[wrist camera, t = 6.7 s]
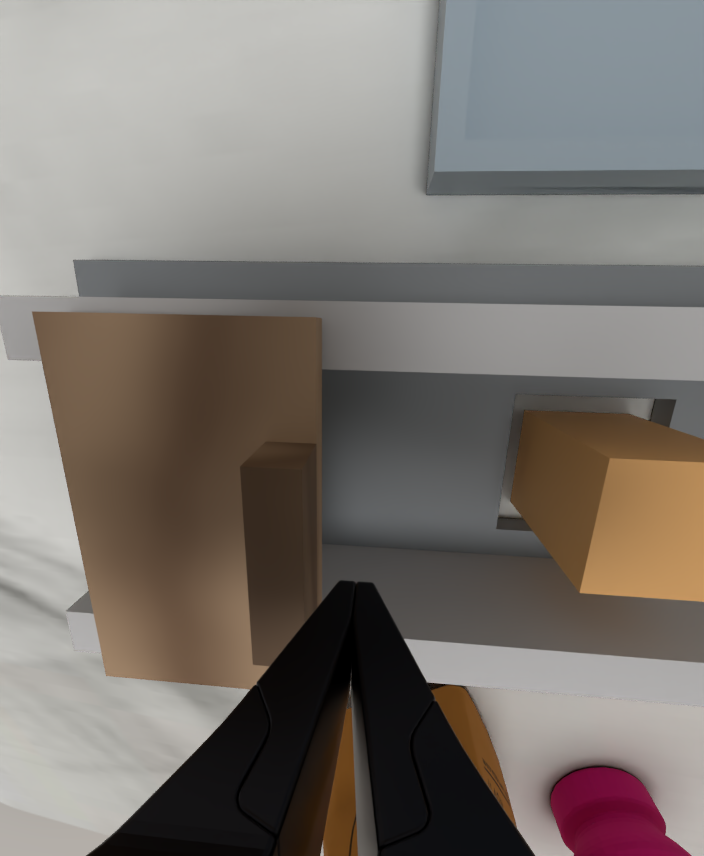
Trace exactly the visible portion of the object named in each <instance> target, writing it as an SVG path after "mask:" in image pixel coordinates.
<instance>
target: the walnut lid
mask: <svg viewBox="0 0 704 856" xmlns="http://www.w3.org/2000/svg"><path fill="white" fill-rule="evenodd" d="M32 315H33V320H34V325H35V330H36V335H37V340H38V345H39V350H40V354H41V359H42V364H43V369H44V374H45V379H46V384H47V389H48V394H49V399H50V403H51V408H52V413H53V418H54V423H55V428H56V433H57V438H58V443H59V447H60V452H61V457H62V462H63V467H64V472H65V477H66V482H67V487H68V491H69V496H70V501H71V506H72V511H73V516H74V521H75V526H76V531H77V535H78V540H79V545H80V550H81V555H82V560H83V565H84V570H85V575H86V579H87V584H88V589H89V594H90V599H91V604H92V609H93V614H94V619H95V623H96V628H97V633H98V638H99V643H100V648H101V653H102V658H103V663H104V667H105V672H106V676H114V677H125V678H135V679H146V680H157V681H168V682H178V683H189V684H200V685H211V686H221V687H232V688H243V689H251V688H252V687H253V686H254V685H256V683H257V681H258V680H259V679H260V677H261V676H262V675H263V674H264V673H265V671H266V670H267V669H268V668H269V666H270V665H271V664H272V663H273V661H274V660H275V659H276V658H277V656H278V655H279V654H280V653H281V652H282V650H283V649H284V648H285V647H286V645H287V644H288V643H289V642H290V640H291V639H292V638H293V637H294V635H295V634H296V633H297V632H298V631H299V629H300V628H301V627H302V626H303V624H304V623H305V622H306V621H307V619H308V618H309V617H310V616H311V614H312V613H313V612H314V611H315V610H316V608H317V607H318V606H319V605H320V603H321V602H322V318H317V317H281V316H232V315H183V314H134V313H85V312H36V311H32Z"/></svg>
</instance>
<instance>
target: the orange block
mask: <svg viewBox="0 0 704 856" xmlns="http://www.w3.org/2000/svg"><path fill="white" fill-rule="evenodd" d="M511 503H512V504H513V505H514V507H515V508H516V509H517V511H518V512H519V513H520V515H521V516H522V517H523V519H524V520H525V521H526V523H527V524H528V525H529V527H530V528H531V529H532V531H533V532H534V533H535V535H536V536H537V537H538V539H539V540H540V541H541V543H542V544H543V545H544V547H545V548H546V549H547V551H548V552H549V553H550V555H551V556H552V557H553V559H554V560H555V561H556V563H557V564H558V565H559V566H560V568H561V569H562V570H563V572H564V573H565V574H566V576H567V577H568V578H569V580H570V581H571V582H572V584H573V585H574V586H575V588H576V589H577V590H578V592H579V593H586V594H600V595H614V596H629V597H643V598H657V599H671V600H686V601H700V602H704V439H701V438H698V437H695V436H692V435H689V434H687V433H684V432H681V431H678V430H675V429H672V428H669V427H666V426H663V425H660V424H657V423H654V422H651V421H648V420H645V419H642V418H640V417H637V416H634V415H631V414H614V413H587V412H560V411H532V410H524V415H523V422H522V429H521V435H520V442H519V448H518V455H517V461H516V468H515V475H514V481H513V488H512V494H511Z"/></svg>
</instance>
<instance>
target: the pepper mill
mask: <svg viewBox="0 0 704 856" xmlns="http://www.w3.org/2000/svg"><path fill="white" fill-rule="evenodd" d="M551 808H552V811H553V814H554V817H555V820H556V823H557V825H558V828H559V831H560V834H561V837H562V839H563V841H564V843H565V845H566V846H567V847H568V848H569V849H570V850H571V851H572V852H573V853H574V856H691V855H690V854H689V853H688V852H687V851H686V850H684V849H683V848H682V847H681V846H679V845H678V844H677V843H676V842H674V841H673V840H671V839H670V838H668V837H667V836H665V833H666V825H665V821H664V819H663V817H662V816H661V814H660V812H659V810H658V809H657V807H656V805H655V803H654V802H653V800H652V798H651V796H650V795H649V793H648V791H647V789H646V788H645V786H644V785H643V784H642V783H641V782H640V781H639V780H638V779H637V778H635V777H634V776H632V775H630V774H628V773H627V772H625V771H621V770H618V769H614V768H606V767H595V768H586V769H582V770H578V771H575V772H573V773H571V774H569V775H568V776H566V777H564V778H563V779H562V780H560V781H559V782H558V783H557V784H556V786H555V788H554V790H553V792H552V794H551Z"/></svg>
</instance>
